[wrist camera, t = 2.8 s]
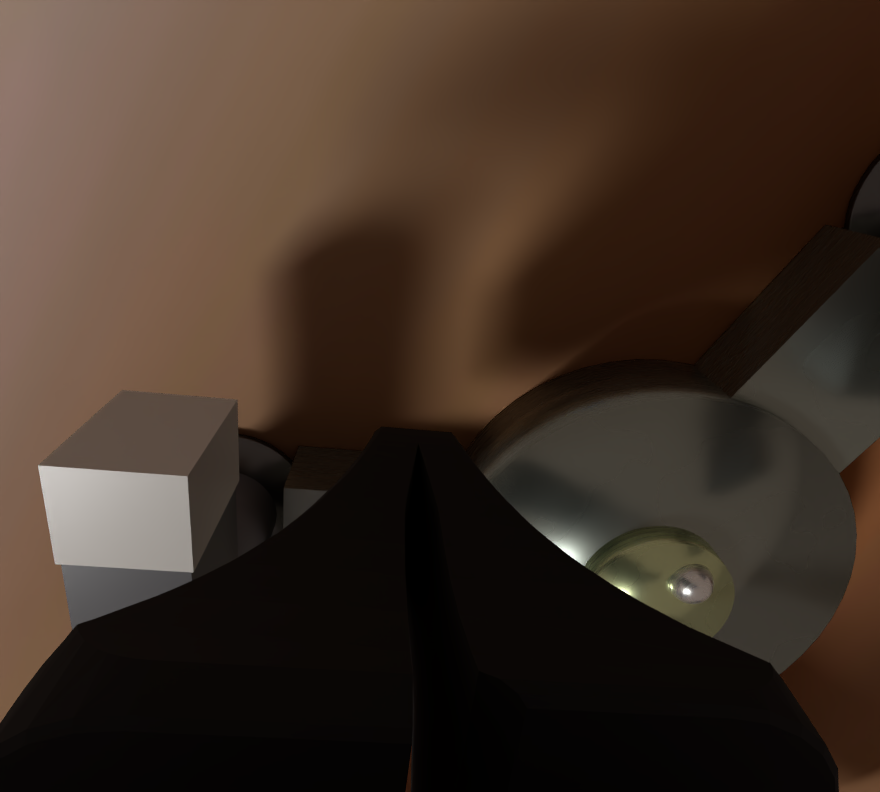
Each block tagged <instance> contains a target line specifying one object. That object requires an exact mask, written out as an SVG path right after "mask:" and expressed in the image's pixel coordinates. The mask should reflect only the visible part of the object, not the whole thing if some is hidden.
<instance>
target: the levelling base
mask: <svg viewBox="0 0 880 792" xmlns="http://www.w3.org/2000/svg"><path fill="white" fill-rule="evenodd" d="M879 437H880V154H879V155H878V157H877V158H876V159H875V160H874V161H873V162H872V164H871V165H870V166H869V167H868V169H867V170H866V172H865V173H864V175H863V176H862V178H861V180H860V181H859V183H858V185H857V187H856V189H855V191H854V193H853V196H852V198H851V200H850V203H849V207H848V210H847V214H846V220H845V226H844V229H842V228H838V227H833V226H829V225H825V226H824V227H823V228H822V229H821V230H820V231H819V232H818V233H817V234H816V236H815V237H814V238H813V239H812V240H811V241H810V242H809V243H808V244H807V245H806V246H805V247H804V248H803V249H802V250H801V252H800V253H799V254H798V255H797V256H796V257H795V258H794V259H793V260H792V261H791V262H790V263H789V264H788V265H787V266H786V267H785V269H784V270H783V271H782V272H781V273H780V274H779V275H778V276H777V277H776V278H775V279H774V280H773V281H772V282H771V283H770V285H769V286H768V287H767V288H766V289H765V290H764V291H763V292H762V293H761V294H760V295H759V296H758V297H757V298H756V299H755V301H754V302H753V303H752V304H751V305H750V306H749V307H748V308H747V309H746V310H745V311H744V312H743V313H742V314H741V315H740V316H739V318H738V319H737V320H736V321H735V322H734V323H733V324H732V325H731V326H730V327H729V328H728V329H727V330H726V331H725V332H724V334H723V335H722V336H721V337H720V338H719V339H718V340H717V341H716V342H715V343H714V344H713V345H712V346H711V347H710V348H709V350H708V351H707V352H706V353H705V354H704V355H703V356H702V357H701V358H700V359H699V360H698V361H697V362H696V363H695V364H694V365H690V364H685V363H679V362H672V361H666V360H643V359H636V360H625V361H615V362H608V363H604V364H599V365H594V366H590V367H585V368H582V369H579V370H577V371H574V372H571V373H568V374H565V375H562V376H559V377H557V378H555V379H553V380H551V381H549V382H547V383H545V384H543V385H541V386H539V387H536V388H535V389H533V390H532V391H530V392H528V393H527V394H525V395H524V396H522V397H521V398H519V399H517V400H516V401H514V402H513V403H512V404H511V405H509V406H508V407H507V408H506V409H504V410H503V411H502V412H501V413H500V414H498V415H497V416H496V417H495V418H494V419H493V420H492V421H491V422H490V423H489V424H488V425H487V426H486V427H485V428H484V429H483V430H482V431H481V432H480V433H479V434H478V435H477V437H476V438H475V440H474V441H473V442H472V444H471V445H470V446H469V448H468V449H467V451H466V452H467V454H468V455H469V456H470V458H471V459H472V460H473V462H474V463H475V464H476V466H477V467H478V468H479V469H480V471H481V472H482V473H483V474H484V476H485V477H486V478H487V479H488V480H489V481H490V483H491V484H492V485H493V486H494V487H495V488H496V490H497V491H498V492H499V493H500V494H501V495H502V496H503V497H504V498H505V499H506V500H507V501H508V502H509V503H510V504H511V505H512V506H513V507H514V508H515V509H516V510H517V511H518V512H519V513H520V514H521V515H522V516H523V517H524V518H525V519H526V520H527V521H528V522H529V523H530V524H531V525H533V526H534V527H535V528H536V529H537V530H538V531H539V532H541V533H542V534H543V535H544V536H546V537H547V538H548V539H549V540H550V541H552V542H553V543H554V544H555V545H557V546H558V547H559V548H560V549H562V550H563V551H564V552H565V553H567V554H568V555H569V556H571V557H572V558H574V559H575V560H576V561H578V562H579V563H581V564H582V565H583V566H585V567H586V568H588V569H589V570H591V571H592V572H594V573H596V574H597V575H599V576H600V577H602V578H603V579H605V580H606V581H608V582H609V583H611V584H612V585H614V586H615V587H617V588H619V589H620V590H622V591H624V592H625V593H627V594H629V595H631V596H632V597H634V598H636V599H637V600H639V601H641V602H643V603H644V604H646V605H648V606H650V607H652V608H654V609H656V610H658V611H660V612H661V613H663V614H665V615H667V616H669V617H671V618H673V619H675V620H676V621H678V622H680V623H682V624H684V625H686V626H688V627H690V628H692V629H695V630H697V631H699V632H701V633H704V634H706V635H708V636H710V637H713V638H715V639H717V640H719V641H722V642H724V643H726V644H728V645H731V646H733V647H735V648H738V649H740V650H742V651H744V652H747V653H749V654H751V655H753V656H756V657H758V658H760V659H762V660H765V661H767V662H769V663H771V665H772V666H773V667H774V669H775V670H776V671H777V673H778V674H781V673H782V672H783V671H785V670H786V669H787V668H788V667H789V666H790V665H791V664H792V663H793V662H795V661H796V660H797V659H798V658H799V657H800V656H801V655H802V654H803V653H804V652H805V651H806V650H807V649H808V648H809V647H810V646H811V644H812V643H813V642H814V641H815V640H816V639H817V638H818V637H819V635H820V634H821V632H822V631H823V630H824V628H825V627H826V625H827V624H828V623H829V621H830V620H831V618H832V617H833V615H834V613H835V611H836V609H837V608H838V606H839V604H840V602H841V600H842V598H843V596H844V593H845V591H846V588H847V585H848V583H849V580H850V577H851V573H852V569H853V564H854V560H855V553H856V538H857V533H856V523H855V514H854V510H853V507H852V503H851V500H850V496H849V493H848V491H847V489H846V487H845V485H844V483H843V481H842V479H841V477H840V475H839V473H840V472H841V471H842V470H844V469H845V468H846V467H847V466H848V465H849V464H850V463H851V462H852V461H854V460H855V459H856V458H857V457H858V456H859V455H860V454H861V453H862V452H864V451H865V450H866V449H867V448H868V447H869V446H870V445H871V444H872V443H874V442H875V441H876V440H877V439H878V438H879ZM238 442H239V473H241V474H244V475H246V476H248V477H251V478H253V479H254V480H256V481H257V482H259V483H260V484H261V485H262V486H263V487H264V488H265V489H266V490H267V491H268V492H269V494H270V495H271V497H272V498H273V501H274V503H275V506H276V512H277V518H276V523H275V527H274V530H273V532H272V535H271V537H272V536H274V535H275V534H277V533H278V532H280V531H281V530H282V529H284V528H285V527H286V526H287V525H289V524H290V523H291V522H293V521H294V520H295V519H297V518H298V517H299V516H300V515H302V514H303V513H304V512H305V511H306V510H307V509H309V508H310V507H311V506H312V505H313V504H314V503H315V502H316V501H317V500H318V499H319V498H321V497H322V496H323V495H324V494H325V493H326V492H327V491H328V490H329V489H330V488H331V487H332V486H333V485H334V484H335V483H336V482H337V481H338V480H339V479H340V478H341V477H342V475H343V474H344V473H345V472H346V471H347V470H348V468H349V467H350V466H351V465H352V464H353V463H354V461H355V460H356V459H357V458H358V457H359V455H360V454H361V453H362V451H354V450H341V449H328V448H316V447H303V446H299V447H298V450H297V453H296V456H295V458H294V461H293V462H292V461H291V460H290V458H289V457H287V456H286V455H285V454H284V453H283V452H281V451H280V450H278V449H277V448H275V447H274V446H272V445H270V444H268V443H266V442H264V441H262V440H259V439H257V438H254V437H250V436H246V435H241V434H238Z"/></svg>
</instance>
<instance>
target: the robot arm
mask: <svg viewBox="0 0 880 792" xmlns="http://www.w3.org/2000/svg"><path fill="white" fill-rule="evenodd" d="M411 746H412V765H411V792H839V786H838V768H837V766H836V764H835V762H834V760H833V758H832V756H831V754H830V752H829V750H828V748H827V746H826V744H825V743H824V741H823V740H822V738H821V737H820V735H819V734H818V732H817V731H816V729H815V727H814V726H813V724H812V723H811V721H810V720H809V718H808V717H807V715H806V714H805V712H804V711H803V709H802V708H801V706H800V705H799V703H798V702H797V700H796V699H795V697H794V696H793V694H792V693H791V691H790V690H789V688H788V687H787V685H786V684H785V683H784V681H783V680H782V678H781V677H780V675H779V674H778V673H777V671H776V670H775V669H774V667H773V666H772V665H771V663H769V662H767V661H765V660H762V659H760V658H758V657H756V656H753V655H751V654H749V653H747V652H744V651H742V650H740V649H738V648H735V647H733V646H731V645H728V644H726V643H724V642H722V641H719V640H717V639H715V638H713V637H710V636H708V635H706V634H704V633H701V632H699V631H697V630H695V629H692V628H690V627H688V626H686V625H684V624H682V623H680V622H678V621H676V620H675V619H673V618H671V617H669V616H667V615H665V614H663V613H661V612H660V611H658V610H656V609H654V608H652V607H650V606H648V605H646V604H644V603H643V602H641V601H639V600H637V599H636V598H634V597H632V596H631V595H629V594H627V593H625V592H624V591H622V590H620V589H619V588H617V587H615V586H614V585H612V584H611V583H609V582H608V581H606V580H605V579H603V578H602V577H600V576H599V575H597V574H596V573H594V572H592V571H591V570H589V569H588V568H586V567H585V566H583V565H582V564H581V563H579V562H578V561H576V560H575V559H574V558H572V557H571V556H569V555H568V554H567V553H565V552H564V551H563V550H562V549H560V548H559V547H558V546H557V545H555V544H554V543H553V542H552V541H550V540H549V539H548V538H547V537H546V536H544V535H543V534H542V533H541V532H539V531H538V530H537V529H536V528H535V527H534V526H533V525H531V524H530V523H529V522H528V521H527V520H526V519H525V518H524V517H523V516H522V515H521V514H520V513H519V512H518V511H517V510H516V509H515V508H514V507H513V506H512V505H511V504H510V503H509V502H508V501H507V500H506V499H505V498H504V497H503V496H502V495H501V494H500V493H499V492H498V491H497V490H496V488H495V487H494V486H493V485H492V484H491V483H490V481H489V480H488V479H487V478H486V477H485V476H484V474H483V473H482V472H481V471H480V469H479V468H478V467H477V466H476V464H475V463H474V462H473V460H472V459H471V458H470V456H469V455H468V454H467V452H466V451H465V450H464V448H463V447H462V446H461V444H460V443H459V442H458V440H457V439H456V438H455V436H454V435H453V434H452V433H451V432H439V431H427V430H415V429H403V428H392V427H381V428H379V429H378V430H377V431H375V432H374V434H373V436H372V438H371V440H370V441H369V443H368V444H367V446H366V447H365V449H364V450H363V451H362V453H361V454H360V455H359V457H358V458H357V459H356V460H355V461H354V463H353V464H352V465H351V466H350V467H349V468H348V470H347V471H346V472H345V473H344V474H343V475H342V477H341V478H340V479H339V480H338V481H337V482H336V483H335V484H334V485H333V486H332V487H331V488H330V489H329V490H328V491H327V492H326V493H325V494H324V495H323V496H322V497H321V498H319V499H318V500H317V501H316V502H315V503H314V504H313V505H312V506H311V507H310V508H309V509H307V510H306V511H305V512H304V513H303V514H302V515H300V516H299V517H298V518H297V519H295V520H294V521H293V522H291V523H290V524H289V525H287V526H286V527H285V528H284V529H282V530H281V531H280V532H278V533H277V534H275V535H274V536H272V537H271V538H269V539H267V540H266V541H264V542H262V543H261V544H259V545H258V546H256V547H254V548H253V549H251V550H249V551H248V552H246V553H244V554H243V555H241V556H239V557H238V558H236V559H234V560H232V561H231V562H229V563H227V564H225V565H223V566H221V567H219V568H217V569H215V570H213V571H211V572H209V573H207V574H205V575H203V576H201V577H199V578H196V579H194V580H192V581H190V582H188V583H185V584H183V585H181V586H179V587H177V588H174V589H172V590H170V591H167V592H165V593H162V594H160V595H158V596H155V597H152V598H150V599H147V600H144V601H141V602H139V603H136V604H133V605H131V606H128V607H125V608H122V609H120V610H117V611H114V612H112V613H109V614H106V615H103V616H101V617H98V618H95V619H92V620H89V621H86V622H83V623H80V624H77V625H76V626H75V627H74V629H73V630H72V631H71V632H70V634H69V635H68V636H67V638H66V639H65V640H64V641H63V642H62V643H61V644H60V646H59V647H58V648H57V649H56V650H55V651H54V652H53V654H52V655H51V656H50V657H49V658H48V659H47V660H46V661H45V663H44V664H43V665H42V666H41V668H40V669H39V670H38V672H37V673H36V674H35V675H34V677H33V678H32V679H31V681H30V682H29V683H28V685H27V686H26V687H25V688H24V690H23V691H22V693H21V694H20V696H19V697H18V698H17V700H16V701H15V703H14V704H13V706H12V707H11V708H10V710H9V711H8V713H7V714H6V716H5V717H4V719H3V720H2V721H1V723H0V792H405V790H406V783H407V775H408V768H409V760H410V753H411Z"/></svg>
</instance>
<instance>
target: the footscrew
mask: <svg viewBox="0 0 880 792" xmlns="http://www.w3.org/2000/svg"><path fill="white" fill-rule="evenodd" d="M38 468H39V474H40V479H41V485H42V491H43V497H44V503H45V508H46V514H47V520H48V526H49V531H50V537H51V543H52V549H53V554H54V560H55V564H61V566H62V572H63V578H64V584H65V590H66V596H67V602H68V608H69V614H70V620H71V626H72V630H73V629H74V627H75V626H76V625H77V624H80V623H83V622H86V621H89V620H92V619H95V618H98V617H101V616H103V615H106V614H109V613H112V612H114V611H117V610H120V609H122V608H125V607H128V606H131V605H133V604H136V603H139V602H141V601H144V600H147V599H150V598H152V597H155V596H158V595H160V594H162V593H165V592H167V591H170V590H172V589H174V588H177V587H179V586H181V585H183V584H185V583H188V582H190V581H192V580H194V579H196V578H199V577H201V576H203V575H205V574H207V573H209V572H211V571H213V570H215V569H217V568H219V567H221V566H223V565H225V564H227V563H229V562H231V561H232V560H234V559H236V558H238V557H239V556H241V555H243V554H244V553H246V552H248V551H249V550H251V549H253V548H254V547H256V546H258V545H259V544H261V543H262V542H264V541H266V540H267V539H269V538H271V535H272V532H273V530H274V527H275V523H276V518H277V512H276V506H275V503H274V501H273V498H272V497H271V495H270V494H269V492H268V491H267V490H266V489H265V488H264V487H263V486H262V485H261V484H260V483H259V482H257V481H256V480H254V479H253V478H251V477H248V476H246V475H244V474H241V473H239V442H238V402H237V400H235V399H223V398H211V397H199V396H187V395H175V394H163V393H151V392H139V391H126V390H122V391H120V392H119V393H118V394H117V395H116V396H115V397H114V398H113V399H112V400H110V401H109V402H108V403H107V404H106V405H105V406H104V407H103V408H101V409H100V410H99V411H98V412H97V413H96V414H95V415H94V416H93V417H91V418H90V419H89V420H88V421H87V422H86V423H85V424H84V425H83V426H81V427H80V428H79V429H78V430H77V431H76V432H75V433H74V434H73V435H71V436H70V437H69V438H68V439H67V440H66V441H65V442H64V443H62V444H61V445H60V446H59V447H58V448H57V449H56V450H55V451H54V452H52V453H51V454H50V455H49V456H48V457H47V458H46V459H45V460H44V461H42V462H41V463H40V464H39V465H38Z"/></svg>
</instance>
